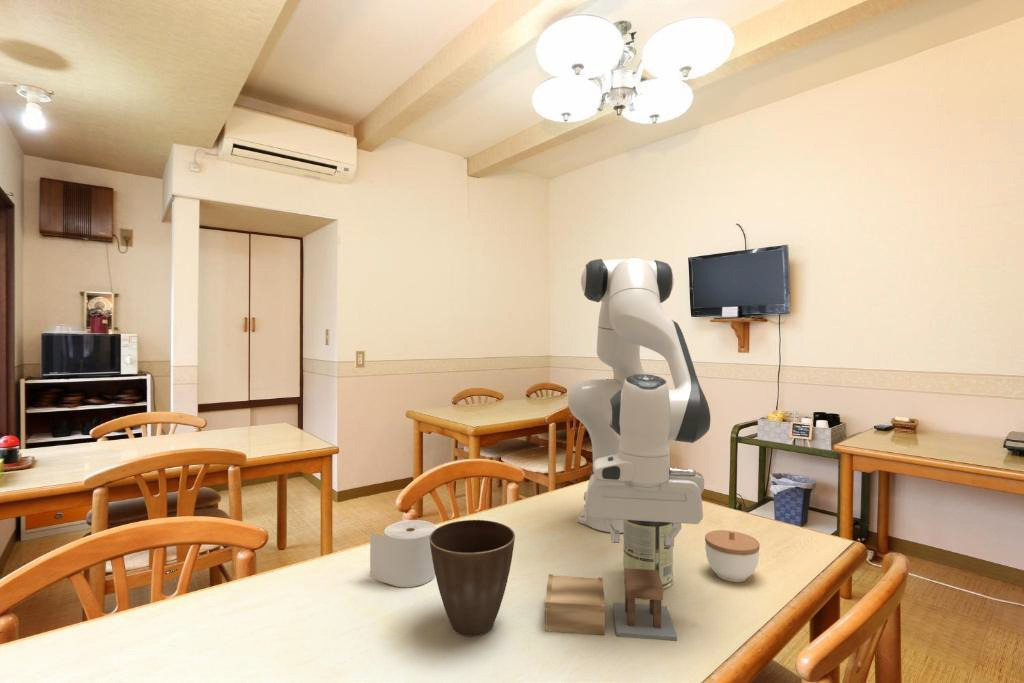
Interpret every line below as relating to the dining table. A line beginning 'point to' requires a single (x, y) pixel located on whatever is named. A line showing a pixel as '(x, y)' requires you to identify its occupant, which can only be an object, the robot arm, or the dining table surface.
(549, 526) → the dining table surface
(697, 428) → the robot arm
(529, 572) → the dining table surface
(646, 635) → the mat
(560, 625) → the tan wooden pedestal
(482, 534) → the plant pot
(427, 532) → the toilet tissue
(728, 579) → the lidded jar
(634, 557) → the coffee can
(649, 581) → the tan pegged block
